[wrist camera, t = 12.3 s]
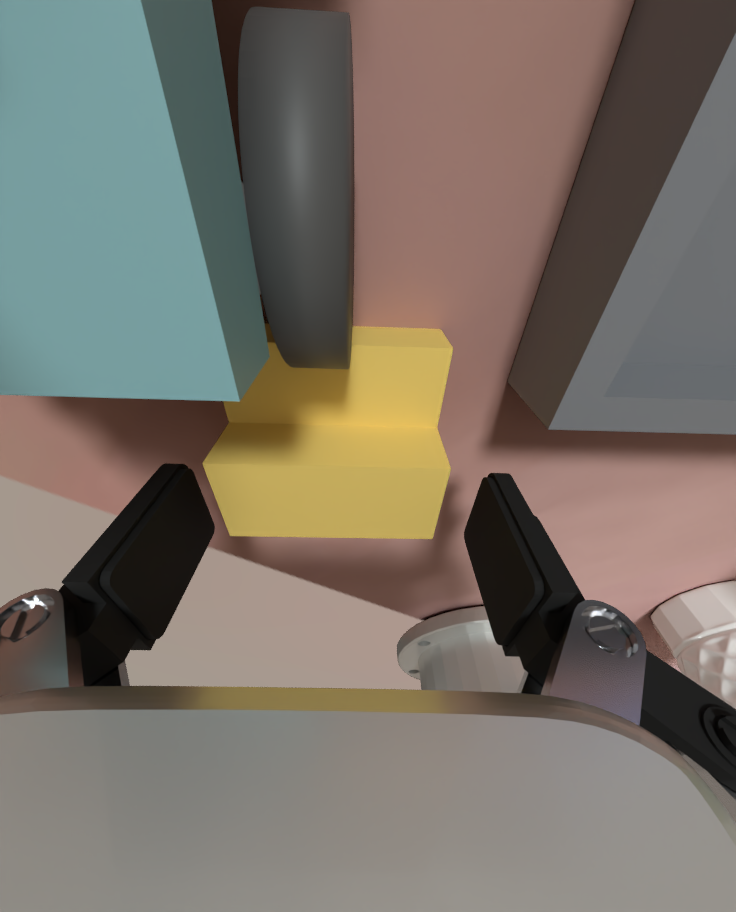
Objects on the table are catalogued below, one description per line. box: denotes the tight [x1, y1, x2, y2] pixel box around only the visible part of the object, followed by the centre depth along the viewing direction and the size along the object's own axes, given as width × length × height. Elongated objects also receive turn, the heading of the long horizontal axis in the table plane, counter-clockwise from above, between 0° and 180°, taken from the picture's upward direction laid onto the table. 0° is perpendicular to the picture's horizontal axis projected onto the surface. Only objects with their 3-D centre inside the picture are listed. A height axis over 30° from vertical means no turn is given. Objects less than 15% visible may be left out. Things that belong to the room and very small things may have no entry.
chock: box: [202, 323, 453, 539], centre depth 10 cm, size 6×6×4 cm
